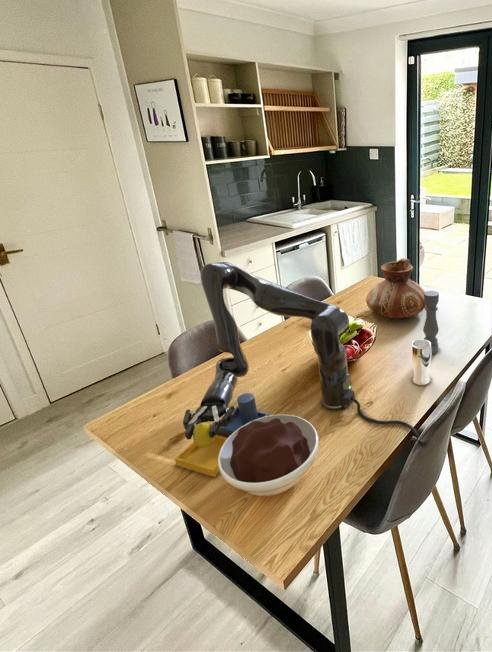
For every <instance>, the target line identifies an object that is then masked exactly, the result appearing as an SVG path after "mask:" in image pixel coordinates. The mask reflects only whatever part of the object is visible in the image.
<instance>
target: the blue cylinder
mask: <svg viewBox="0 0 492 652" xmlns="http://www.w3.org/2000/svg"><path fill="white" fill-rule="evenodd" d="M236 401H237V406H238V407H239V412H240V416H241V421H242V425H245V424H247V423H249V422H251V421H253V420H256V419H259V418H258V413H257V411H258V409H257V403H256V398H255V395H254V393H251V392H246V393H242V394H240V395H239V396H237V399H236Z"/></svg>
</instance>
